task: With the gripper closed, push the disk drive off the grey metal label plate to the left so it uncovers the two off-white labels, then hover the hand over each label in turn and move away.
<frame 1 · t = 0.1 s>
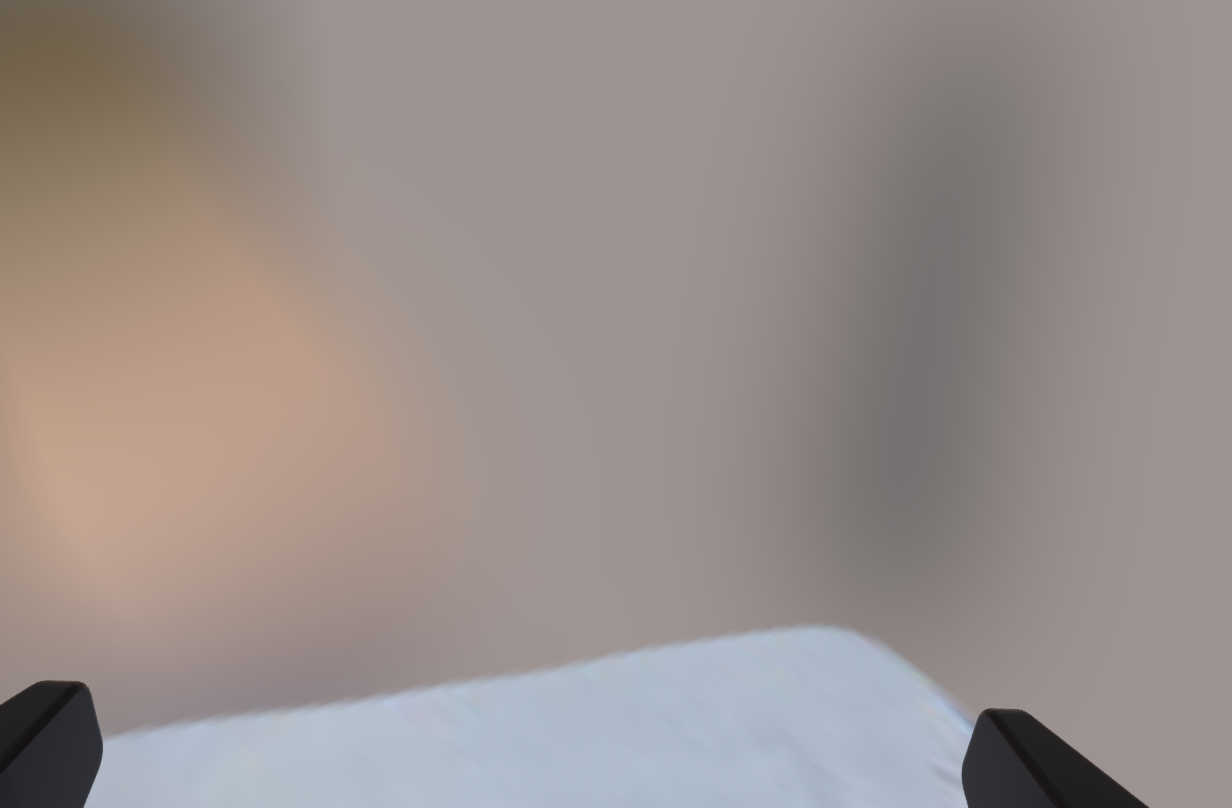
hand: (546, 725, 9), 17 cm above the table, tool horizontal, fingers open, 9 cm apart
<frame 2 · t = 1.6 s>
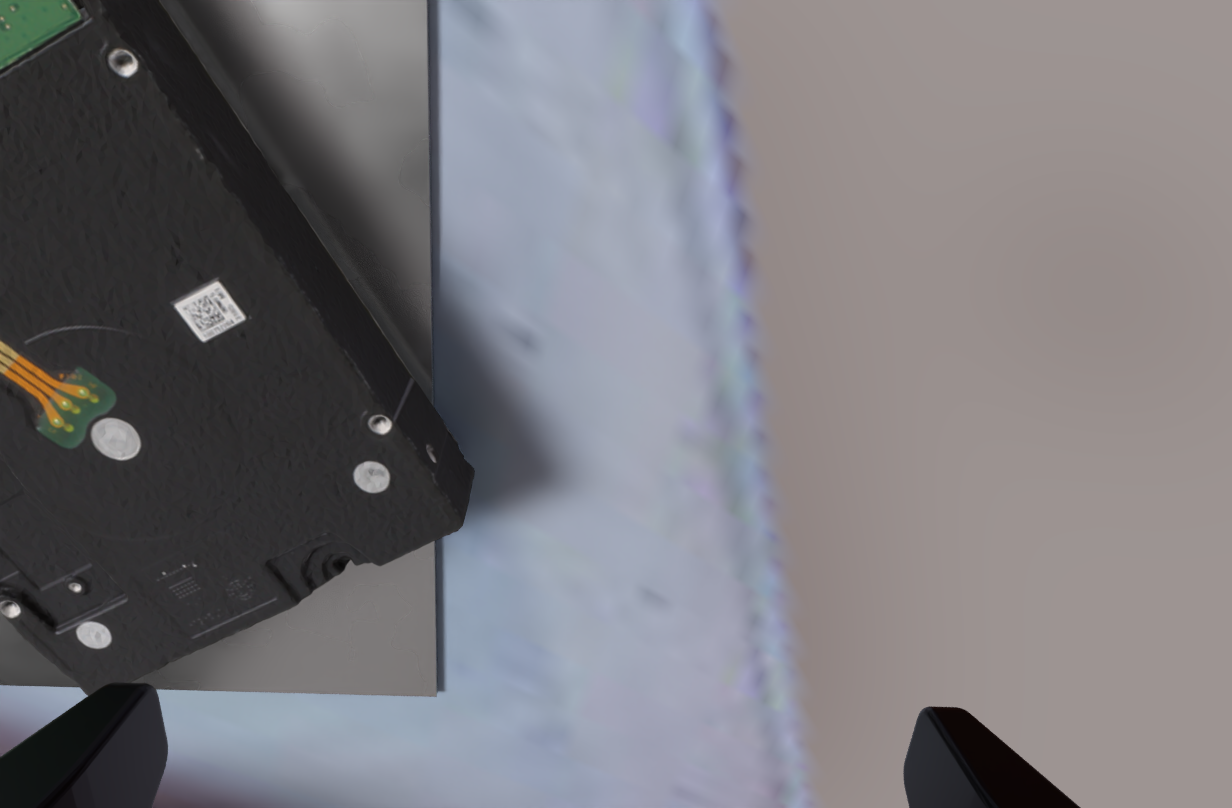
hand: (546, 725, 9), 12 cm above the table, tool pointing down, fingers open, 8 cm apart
label plate: (108, 297, 19), on the table
disk drive: (106, 299, 19), resting on label plate
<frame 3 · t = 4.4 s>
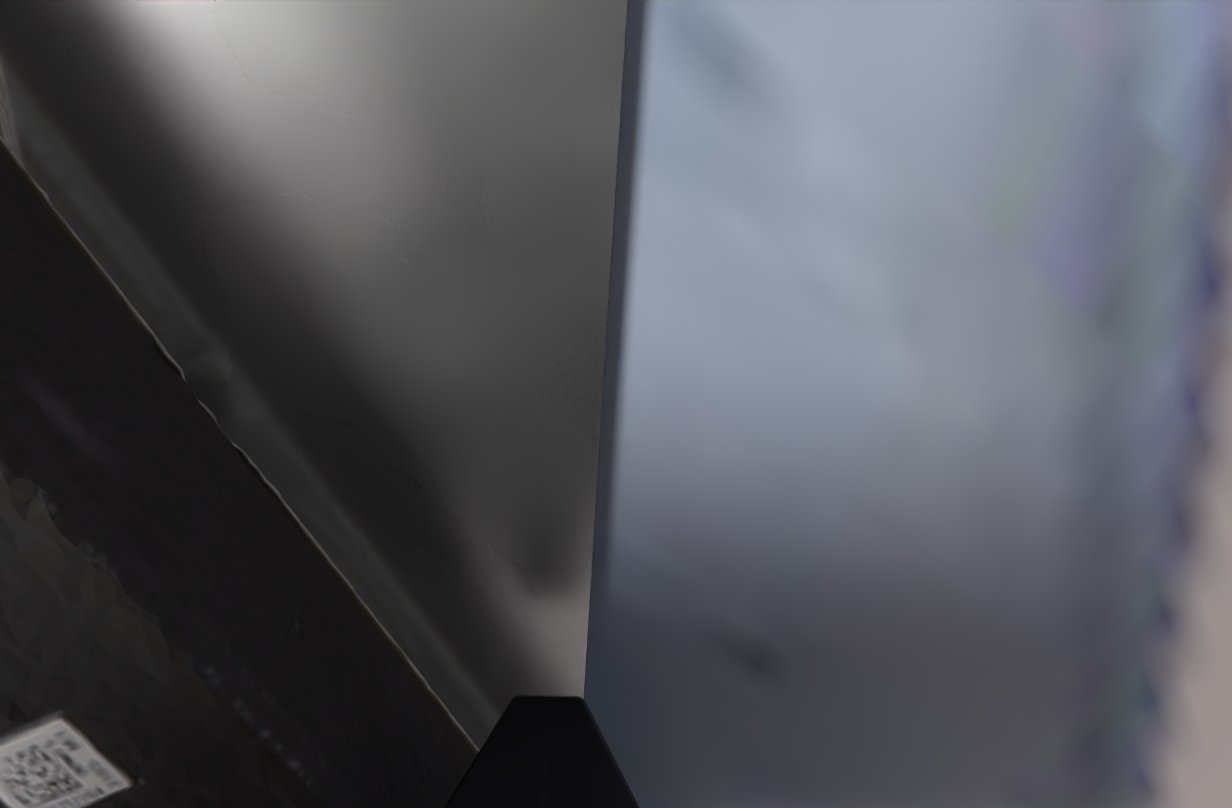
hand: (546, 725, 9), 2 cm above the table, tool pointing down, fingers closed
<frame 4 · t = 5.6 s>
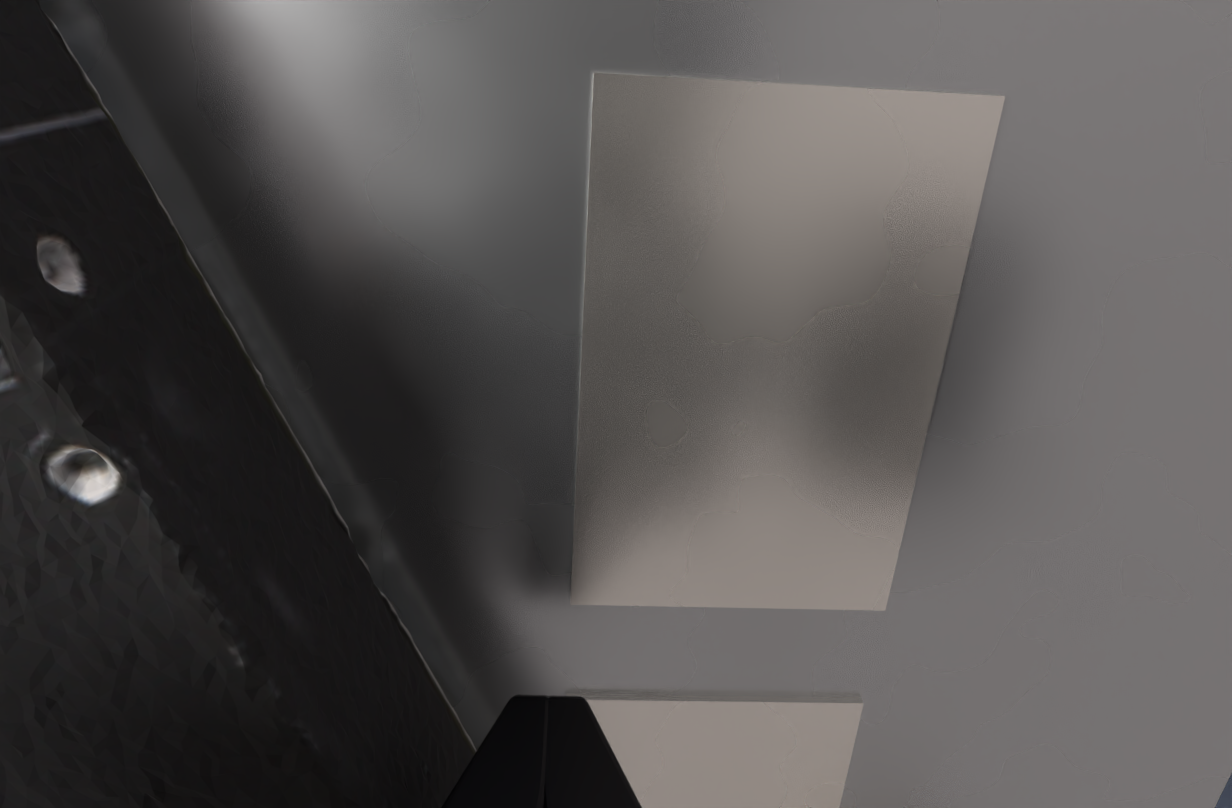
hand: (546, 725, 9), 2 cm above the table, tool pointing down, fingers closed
label plate: (719, 638, 11), on the table
disk drive: (15, 695, 11), resting on label plate, touching gripper
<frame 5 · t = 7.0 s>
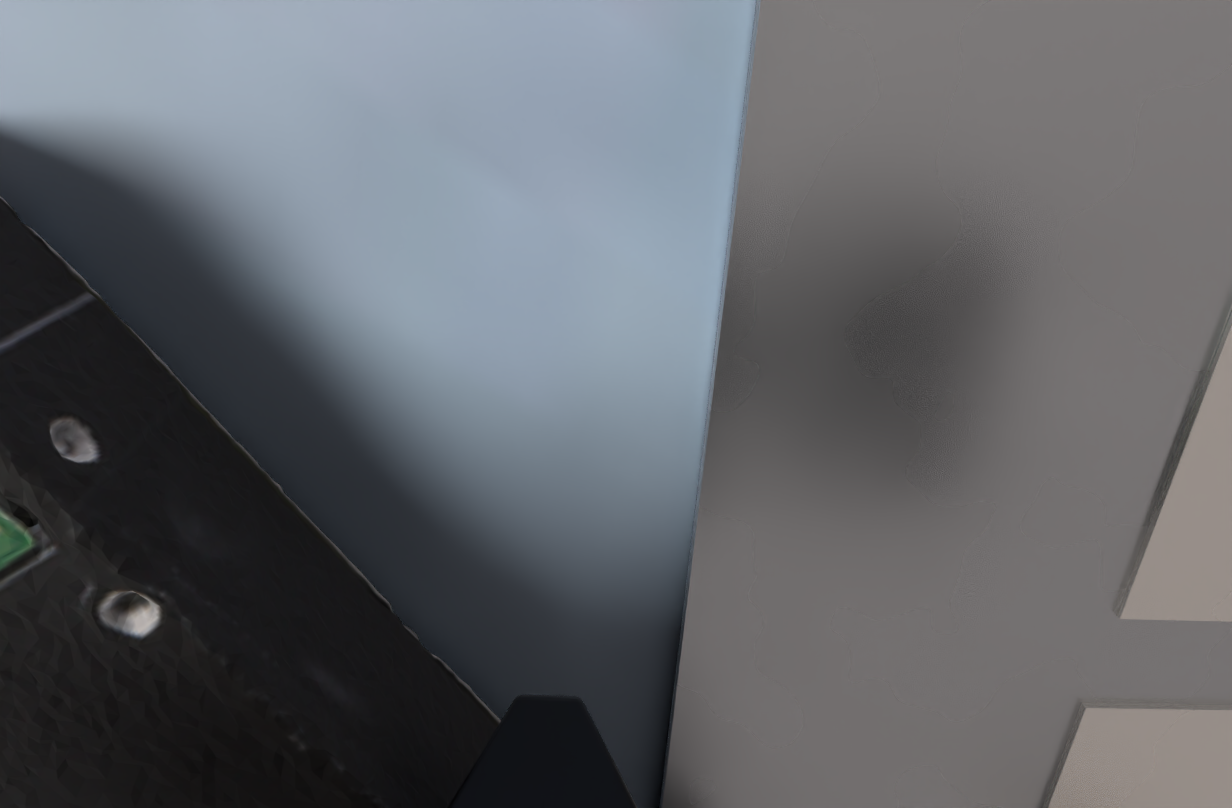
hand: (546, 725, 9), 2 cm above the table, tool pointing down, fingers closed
label plate: (1225, 651, 11), on the table
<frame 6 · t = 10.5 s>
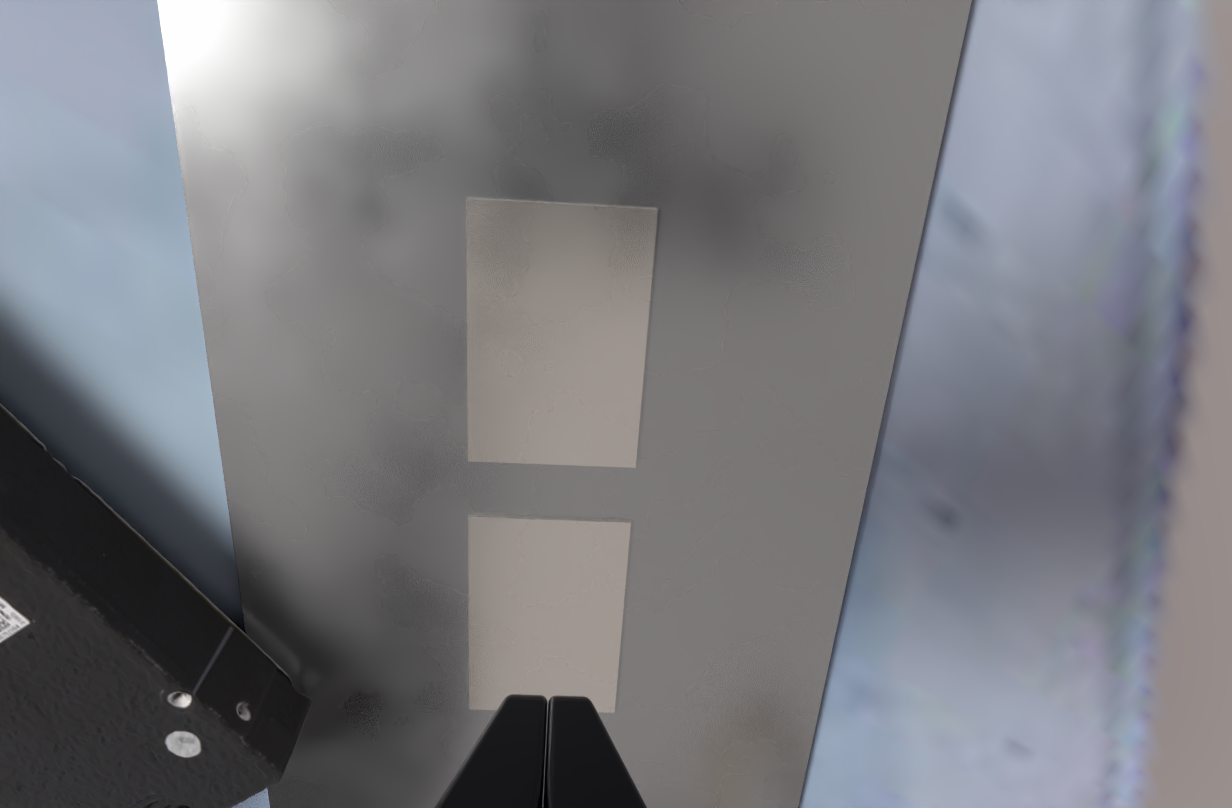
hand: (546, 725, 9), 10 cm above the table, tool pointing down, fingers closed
label plate: (551, 485, 20), on the table
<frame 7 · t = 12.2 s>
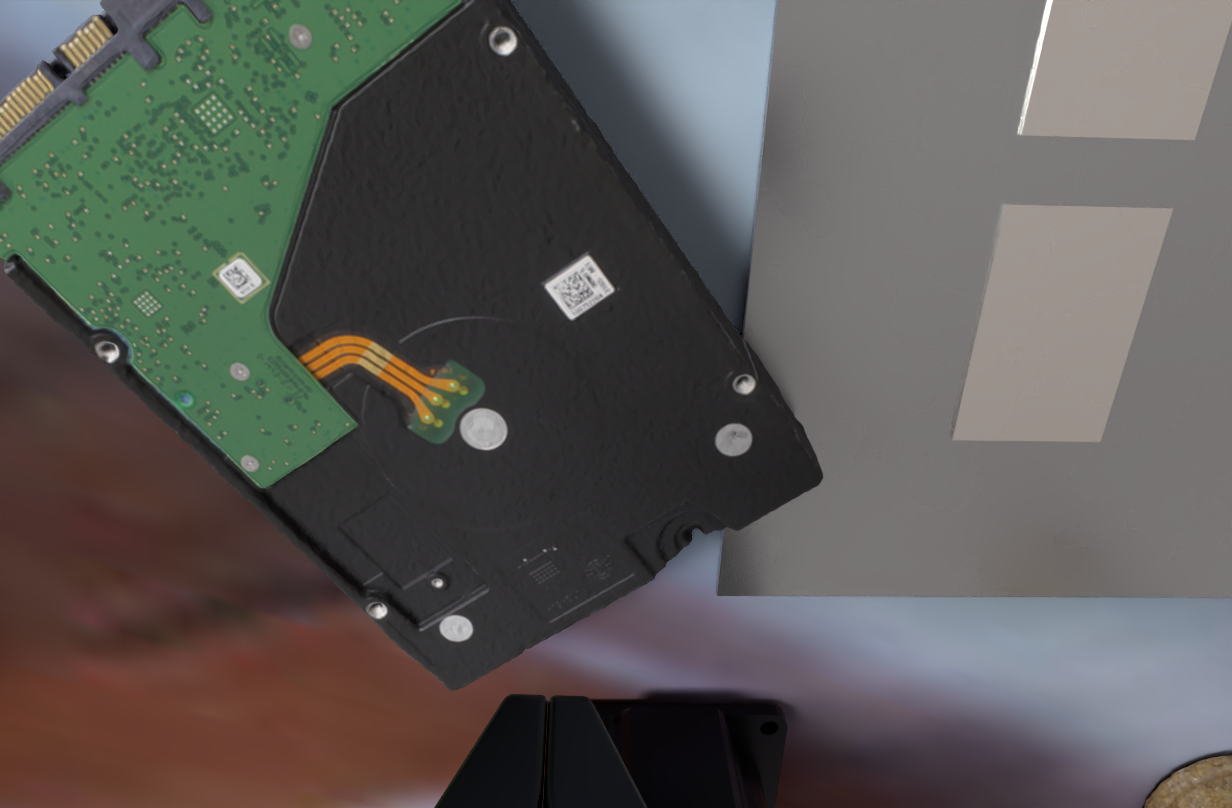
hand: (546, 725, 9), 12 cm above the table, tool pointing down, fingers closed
label plate: (1091, 169, 19), on the table
sprinkles bottle: (1205, 795, 28), on the table
disk drive: (433, 295, 19), on the table, touching label plate
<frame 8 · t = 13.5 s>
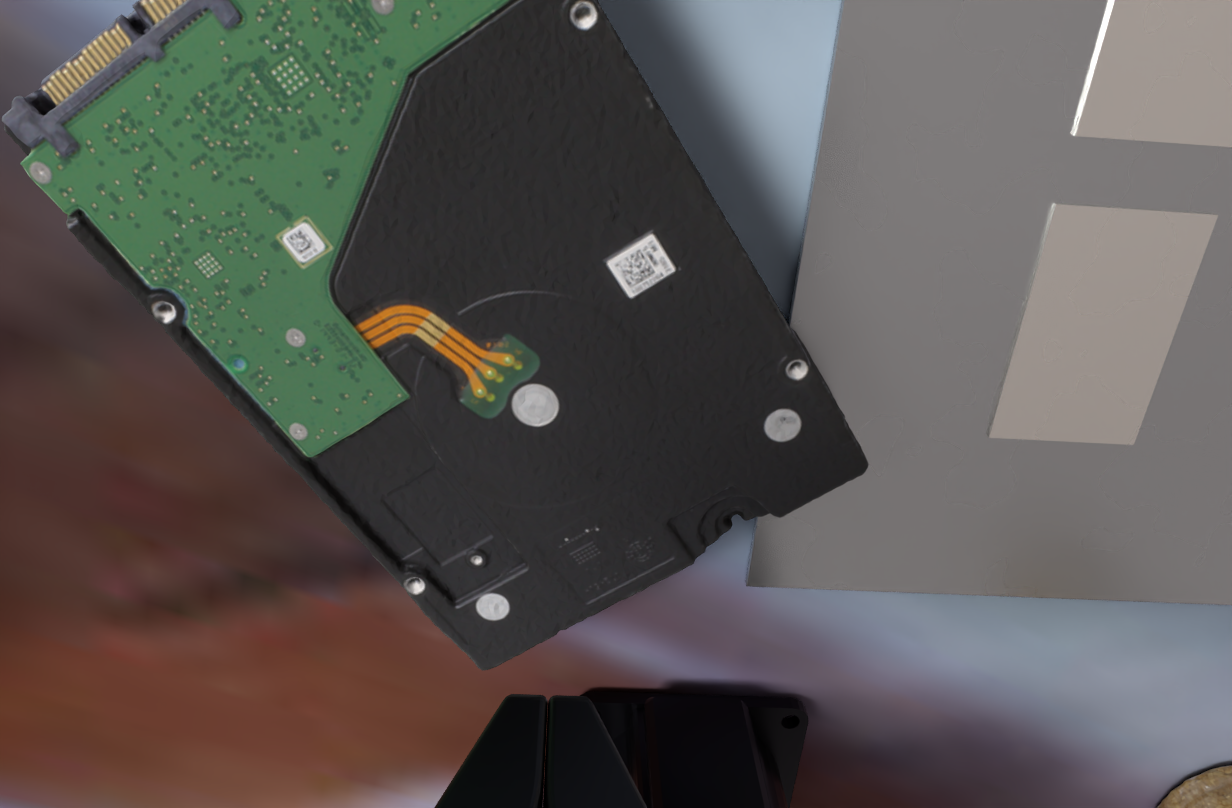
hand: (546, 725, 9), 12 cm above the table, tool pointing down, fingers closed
label plate: (1140, 173, 19), on the table
sprinkles bottle: (1213, 804, 28), on the table
disk drive: (484, 272, 19), on the table, touching label plate
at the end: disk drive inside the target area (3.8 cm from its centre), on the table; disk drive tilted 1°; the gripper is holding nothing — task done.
